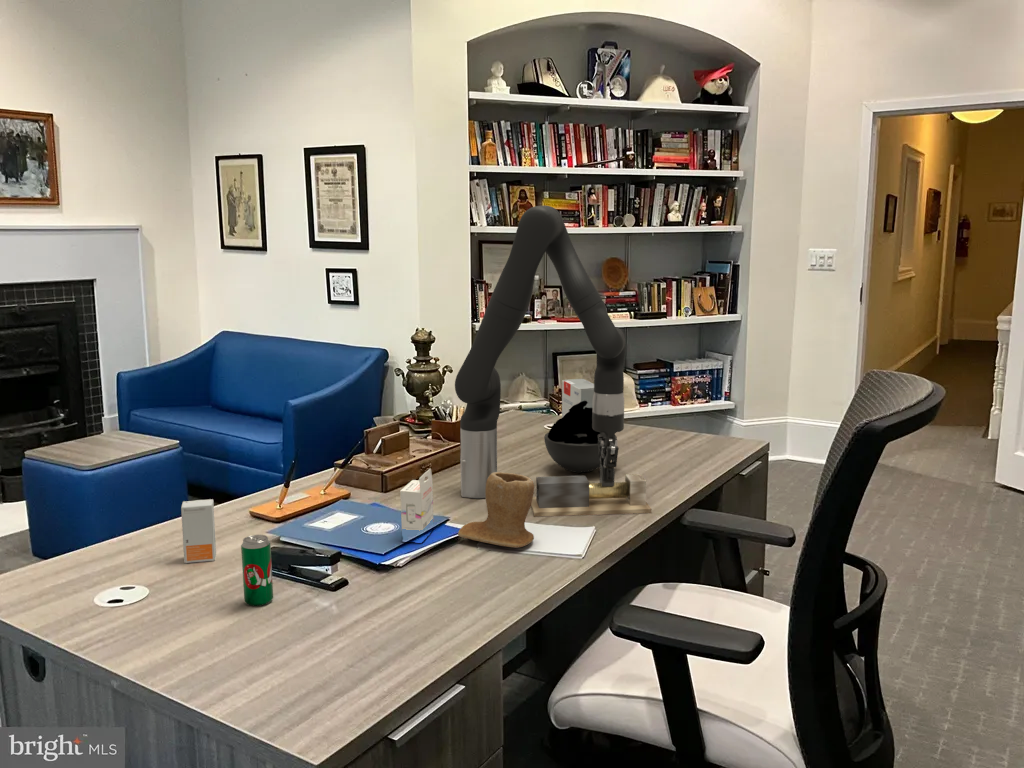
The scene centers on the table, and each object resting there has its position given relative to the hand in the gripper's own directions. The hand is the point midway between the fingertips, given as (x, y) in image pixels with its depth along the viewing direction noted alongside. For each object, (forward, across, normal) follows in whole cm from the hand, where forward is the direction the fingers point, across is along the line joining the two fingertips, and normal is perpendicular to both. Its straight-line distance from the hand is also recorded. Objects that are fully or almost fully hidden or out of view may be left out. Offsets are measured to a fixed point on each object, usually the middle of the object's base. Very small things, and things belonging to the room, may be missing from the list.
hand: (606, 479), depth 208 cm
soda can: (+7, +48, -73) cm, 88 cm away
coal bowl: (+7, -31, -1) cm, 32 cm away
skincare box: (+7, +26, -89) cm, 93 cm away
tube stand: (+7, 0, -4) cm, 8 cm away
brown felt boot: (+7, +21, -27) cm, 35 cm away
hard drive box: (+7, -59, +4) cm, 60 cm away
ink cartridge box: (+7, +17, -45) cm, 49 cm away
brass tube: (+5, 0, -3) cm, 6 cm away
